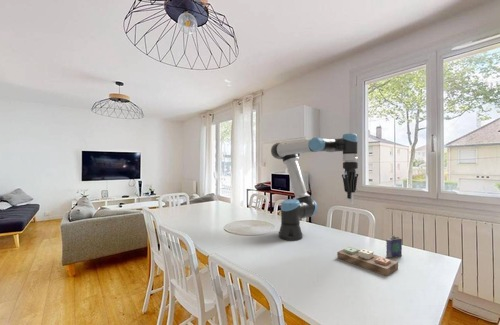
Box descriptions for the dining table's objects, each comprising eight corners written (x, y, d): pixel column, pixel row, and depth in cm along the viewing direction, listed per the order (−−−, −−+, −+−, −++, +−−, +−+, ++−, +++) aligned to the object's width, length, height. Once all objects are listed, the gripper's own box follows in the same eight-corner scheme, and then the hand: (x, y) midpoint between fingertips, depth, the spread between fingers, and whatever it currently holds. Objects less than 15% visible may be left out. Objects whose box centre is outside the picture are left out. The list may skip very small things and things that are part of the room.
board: (337, 258, 114) (337, 251, 114) (349, 252, 121) (349, 247, 121) (387, 276, 96) (387, 269, 96) (398, 268, 102) (398, 262, 102)
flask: (389, 258, 113) (389, 236, 113) (384, 256, 116) (384, 235, 116) (403, 256, 116) (403, 234, 116) (397, 253, 119) (397, 233, 119)
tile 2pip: (358, 256, 109) (358, 250, 109) (363, 254, 111) (363, 248, 111) (368, 259, 105) (368, 253, 105) (373, 257, 108) (373, 251, 108)
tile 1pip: (344, 254, 115) (344, 249, 115) (349, 252, 117) (349, 247, 117) (352, 257, 111) (352, 251, 111) (357, 254, 114) (357, 249, 114)
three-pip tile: (375, 264, 103) (375, 259, 103) (379, 262, 105) (379, 256, 105) (386, 268, 99) (385, 262, 99) (390, 265, 102) (390, 259, 102)
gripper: (350, 161, 120) (350, 206, 120) (362, 161, 128) (363, 203, 128) (337, 161, 126) (337, 204, 126) (350, 161, 134) (350, 202, 134)
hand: (350, 204), depth 127 cm, fingers closed
